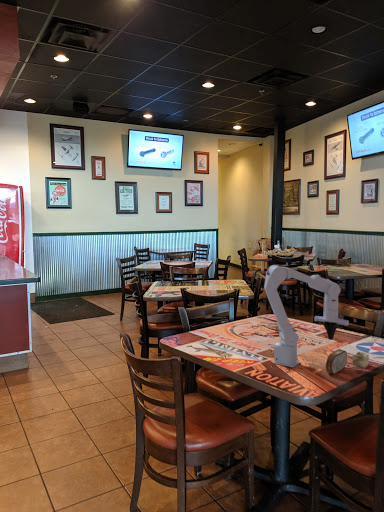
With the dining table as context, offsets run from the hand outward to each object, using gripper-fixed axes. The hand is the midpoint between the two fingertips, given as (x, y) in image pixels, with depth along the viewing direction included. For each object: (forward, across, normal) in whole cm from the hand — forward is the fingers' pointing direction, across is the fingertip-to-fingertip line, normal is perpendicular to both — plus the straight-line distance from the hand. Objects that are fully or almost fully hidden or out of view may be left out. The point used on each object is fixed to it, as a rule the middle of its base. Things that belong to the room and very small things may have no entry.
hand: (330, 339), depth 172 cm
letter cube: (+10, -12, -4) cm, 16 cm away
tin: (+11, -6, +9) cm, 15 cm away
